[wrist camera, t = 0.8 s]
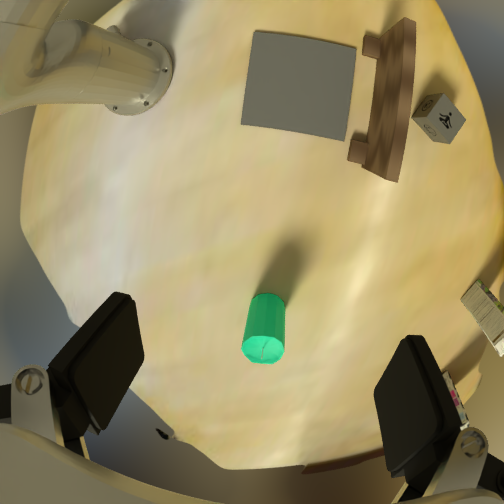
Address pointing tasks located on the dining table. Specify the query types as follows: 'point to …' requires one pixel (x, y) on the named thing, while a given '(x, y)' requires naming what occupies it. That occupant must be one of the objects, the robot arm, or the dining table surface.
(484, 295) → the syrup box
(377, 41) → the walnut screen
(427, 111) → the dice cube
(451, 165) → the dining table surface
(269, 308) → the candle
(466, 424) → the candy bar box
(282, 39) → the grey mat
